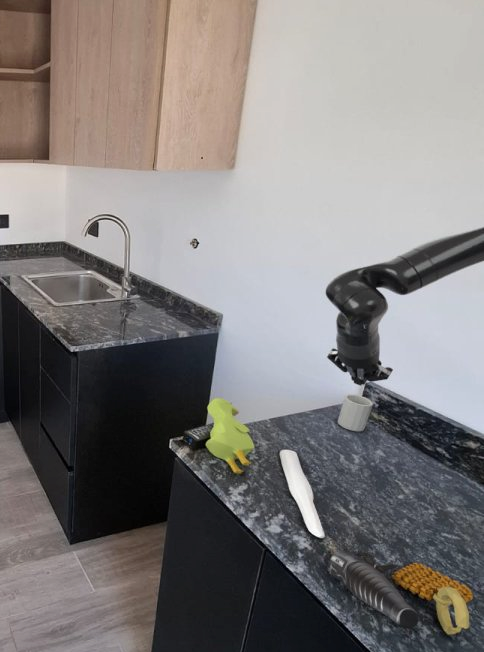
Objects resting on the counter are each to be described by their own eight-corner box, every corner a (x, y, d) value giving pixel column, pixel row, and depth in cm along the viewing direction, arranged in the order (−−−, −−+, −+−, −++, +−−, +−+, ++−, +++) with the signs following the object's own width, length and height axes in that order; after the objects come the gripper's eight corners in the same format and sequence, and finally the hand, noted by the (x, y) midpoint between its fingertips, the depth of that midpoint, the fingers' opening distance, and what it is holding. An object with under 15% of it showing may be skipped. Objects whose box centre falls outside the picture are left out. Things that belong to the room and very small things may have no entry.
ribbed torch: (409, 638, 70) (413, 628, 68) (319, 576, 79) (320, 566, 78) (435, 594, 73) (440, 584, 71) (345, 539, 83) (347, 529, 81)
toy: (286, 463, 104) (240, 396, 119) (229, 457, 98) (188, 386, 113) (267, 480, 107) (225, 412, 122) (212, 474, 101) (174, 404, 116)
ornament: (451, 591, 79) (507, 661, 65) (377, 576, 82) (415, 640, 68) (457, 553, 78) (515, 617, 64) (382, 540, 82) (422, 597, 67)
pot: (357, 420, 127) (365, 395, 124) (368, 432, 121) (377, 407, 118) (333, 417, 127) (341, 392, 125) (343, 430, 122) (351, 404, 119)
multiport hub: (228, 438, 116) (230, 430, 115) (195, 449, 111) (196, 441, 110) (214, 429, 119) (216, 421, 118) (181, 439, 115) (183, 431, 114)
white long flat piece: (329, 540, 86) (330, 528, 85) (303, 537, 87) (304, 526, 86) (296, 455, 111) (297, 446, 110) (276, 453, 112) (277, 444, 112)
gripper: (402, 340, 96) (399, 380, 108) (333, 319, 106) (337, 358, 118) (384, 369, 95) (383, 406, 107) (316, 345, 105) (322, 382, 116)
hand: (359, 381), depth 112 cm, fingers closed
